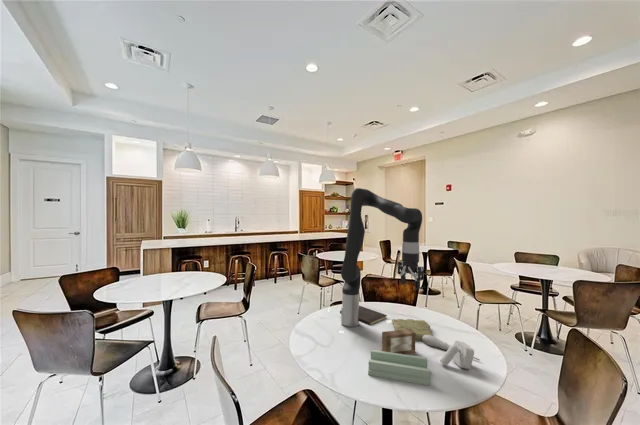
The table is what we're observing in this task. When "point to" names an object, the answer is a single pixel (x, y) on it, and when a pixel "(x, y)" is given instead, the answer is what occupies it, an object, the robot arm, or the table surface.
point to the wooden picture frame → (399, 341)
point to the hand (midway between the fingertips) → (409, 286)
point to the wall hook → (459, 355)
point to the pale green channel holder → (399, 367)
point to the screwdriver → (437, 343)
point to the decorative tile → (413, 327)
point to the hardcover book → (369, 315)
